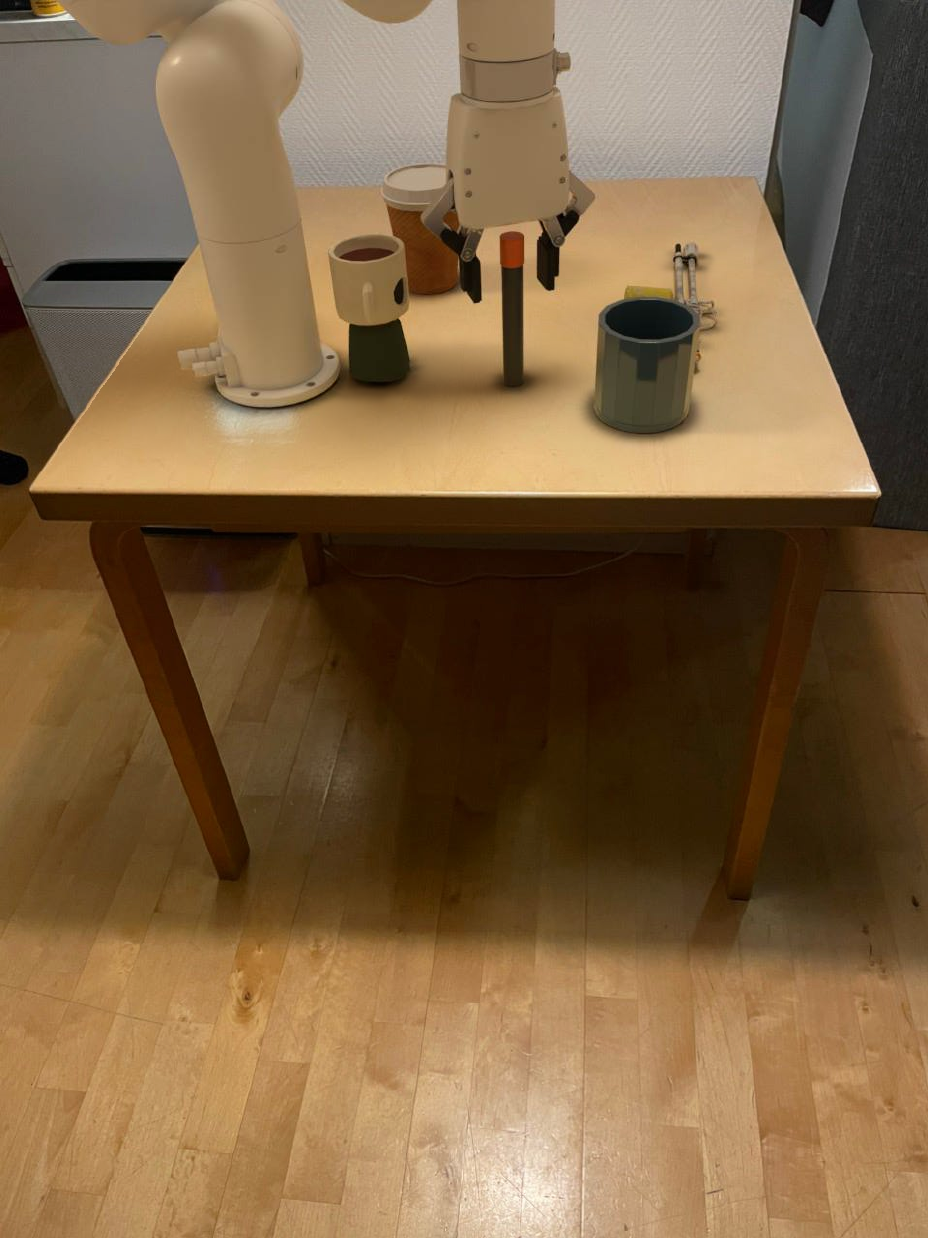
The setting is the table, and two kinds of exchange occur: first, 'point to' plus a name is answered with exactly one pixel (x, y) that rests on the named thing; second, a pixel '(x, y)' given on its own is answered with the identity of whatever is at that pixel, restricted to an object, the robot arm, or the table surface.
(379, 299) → the character mug
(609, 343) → the pencil cup
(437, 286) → the disposable coffee cup
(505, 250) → the marker
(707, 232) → the table surface
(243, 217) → the robot arm
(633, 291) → the flamethrower
